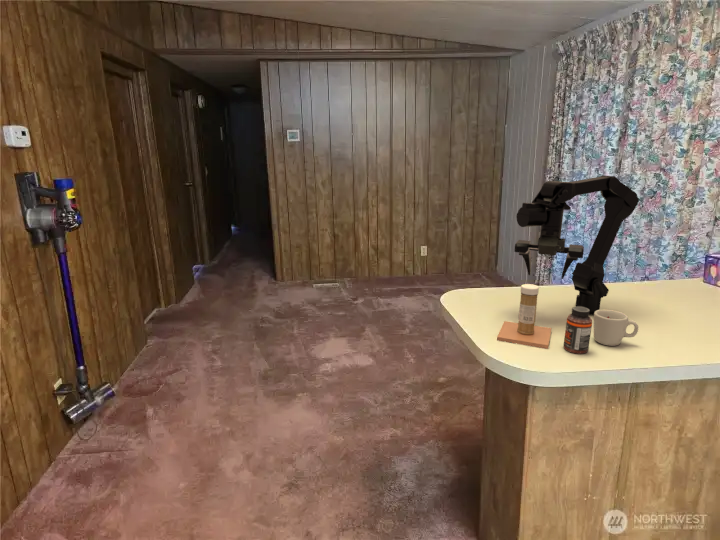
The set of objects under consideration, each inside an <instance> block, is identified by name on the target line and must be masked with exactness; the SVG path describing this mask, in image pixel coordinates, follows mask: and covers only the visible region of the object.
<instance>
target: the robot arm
mask: <svg viewBox="0 0 720 540" xmlns="http://www.w3.org/2000/svg"><path fill="white" fill-rule="evenodd" d="M598 192H600V195H601V197H602V198H603V199H604V200H605V202H604V205H603V209H604V215H605V216H604V219H603V221H602V223H601V226H600V227H599V229H598V232H597V235H596V236H595V240H594V242H593V243H592V246H591V249H590V251H589V253H588V256H587V258H586V259H585V260H584V261H583V262H577V263H576V264H575V266H574V267H575V268H574V270H573V271H572V272H571V274H572V277H571V281H572V283H573V287H574V290H575V291H578V294H577V295H576V299H575V306H574V307H576V306H580V307H585V308H588V309H589V310H590V311H589V315H588V316H591V315H592V316H594V312H595V311H597V310H601V301H602V298H604V297H607V295H608V294H609V288H608V287H607V285H606V284H605V282H604V279H605V275H606V274H605V268H604V265H605V262H606V260H607V257H608V256H609V253H610V250H611V248H612V246H613V243H614V242H615V239H616V238H617V235H618V233H619V230H620V228H621V227H622V226H621V225H622V223H623V222H624V220H626V219H627V218H628V217H630V216H631V215H632V214H633V212H634V210H635V209H636V208H637V206H638V204H639V199H640V198H639V196H638V194H637V192H635V190H634V191H633V190H632V188H630V187H628V186H627V185H626V184H624V183H623V182H621V180H620V179H618V178H617V177H616V176H614V175H600V176H596V177H589V178H586V179H585V178H584V179H580V180H574V181H560V180H559V181H557V180H556V181H555V180H547V181H545V182H544V183H543V185H542V186H541V189H540V190H539V191H538V193H537V194H536V195H535V197H534V198H533V200H532V201H531V202H522V206H521V207H520V208H519V209H518V211H517V213H516V215H515V216H516V222H517V224H518V226H520V227H521V228H529V227H540V229H539V230H540V232H539V237H538V241H537V244H534V243H531V240H522V239H518V240H517V241H516V242H515V244H514V249H513V250H514V251H513V252H515V253H518V255H519V256H521V257H522V258H523V261H524V263H525V267H526V269H527V275H528V276H531V272H532V257H531V256H532V251H535V252H536V251H537V254H539V255H543V256H544V255H549V256H550V257H551V256H552V257H553V256H556V255H557V253H558V254H566V258H565V260H564V265H563V268H562V272H561V278H560V279H562V280H563V279H564V277H565V276H566V273H567V271H568V269H569V268H570V266H571V265H572V263H573V262H575V261H578V259H583V258H584V253H585V251H584V250H585V248H584V246H583V245H582V244H571V243H570V244H569V246H565V245H566V238H563V237H561V236H562V228H563V219H564V212H565V211H569V210H571V206H570V205H568V204H567V202H568V201H572V199H574V197H576V196H581V195H586V194H592V193H598Z"/></svg>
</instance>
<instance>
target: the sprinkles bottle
mask: <svg viewBox="0 0 720 540" xmlns="http://www.w3.org/2000/svg"><path fill="white" fill-rule="evenodd" d="M539 289H540V288H539V286H538V285H536V284H532V283H531V284H530V283H525V284H522V285H520V302H519V311H518V322H517V323H518V329H517V331H518V332H519V333H521V334H524V335H531V334H534V326H536V325H535V324H536V319H537V318H536V317H537V305H538V295H539V291H540V290H539Z"/></svg>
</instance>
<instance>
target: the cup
mask: <svg viewBox="0 0 720 540" xmlns="http://www.w3.org/2000/svg"><path fill="white" fill-rule="evenodd" d="M630 325H633V327H634V329H633V331H632V332H631V333H628V332H627V328H628V326H630ZM638 332H639V324H638V323H637V321H635V320H633V319H629V316H628V315H626V314H625V313H624V312H621V311H618V310H612V309H599V310H597V311H595V312H594V315H593V339H594V341H596V342H597V343H599V344H601V345H604V346H610V347H612V346H613V347H614V346H615V347H616V346H618V345H619V344H621V342H622V340H623V338H633V337H635V336H637V334H638Z"/></svg>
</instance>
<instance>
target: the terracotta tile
mask: <svg viewBox="0 0 720 540" xmlns="http://www.w3.org/2000/svg"><path fill="white" fill-rule="evenodd" d="M517 329H518V322H513V321H508V320H507V321H506V320H504V321H503V323H502V326H501V328H500V330H499V332H498V335H497V336H496V338H497V339H496V341H498V340H499V342H504V341H506V342H505V343H510V342H512V343H511V344H516V343H517V345H523V346H530V347H534V346H535V348H539V349H540V348H541V349H547V350H549V346H550V342H551V341H550V340H551V335H552V327H545V326H540V325H534V334H531V335H524V334H521V333H519V332H518V331H517Z"/></svg>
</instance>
